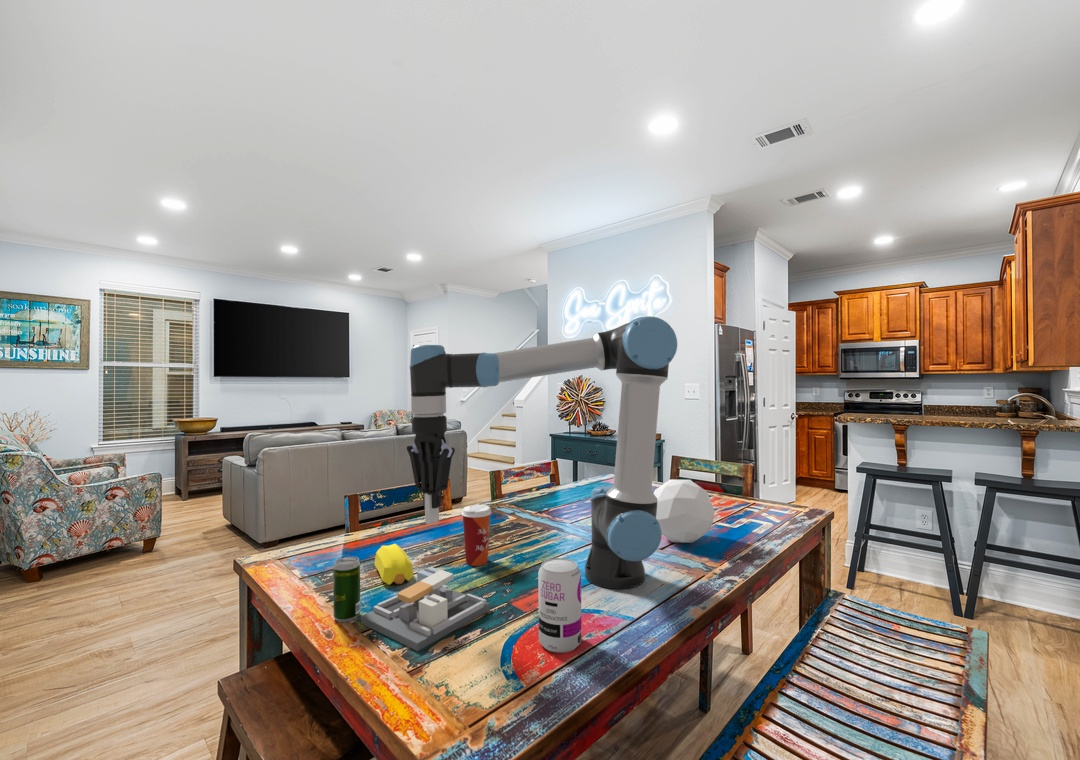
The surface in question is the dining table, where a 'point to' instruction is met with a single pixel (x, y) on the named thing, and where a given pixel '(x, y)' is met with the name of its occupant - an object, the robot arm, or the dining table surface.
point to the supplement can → (559, 605)
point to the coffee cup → (476, 534)
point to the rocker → (425, 586)
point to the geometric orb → (683, 510)
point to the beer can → (346, 589)
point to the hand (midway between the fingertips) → (432, 522)
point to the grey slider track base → (404, 617)
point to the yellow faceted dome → (393, 564)
